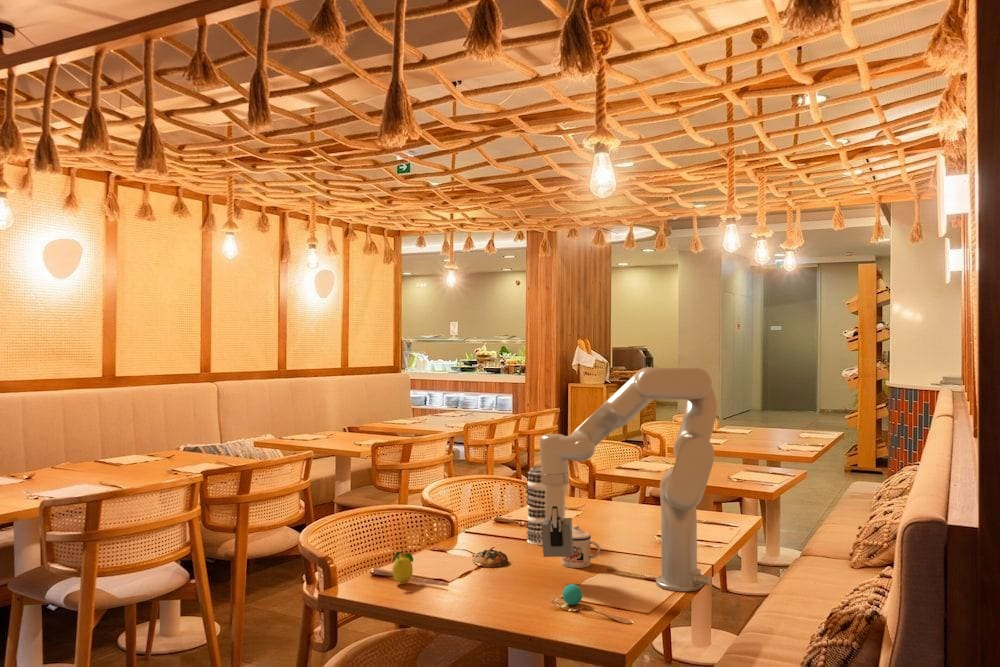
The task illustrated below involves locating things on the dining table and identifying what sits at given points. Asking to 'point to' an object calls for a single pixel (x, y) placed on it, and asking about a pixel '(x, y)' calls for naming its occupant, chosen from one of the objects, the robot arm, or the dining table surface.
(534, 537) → the decorative candle
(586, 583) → the dining table surface
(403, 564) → the lemon
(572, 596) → the ball
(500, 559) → the bread roll
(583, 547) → the teacup with lid
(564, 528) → the upright gray block
